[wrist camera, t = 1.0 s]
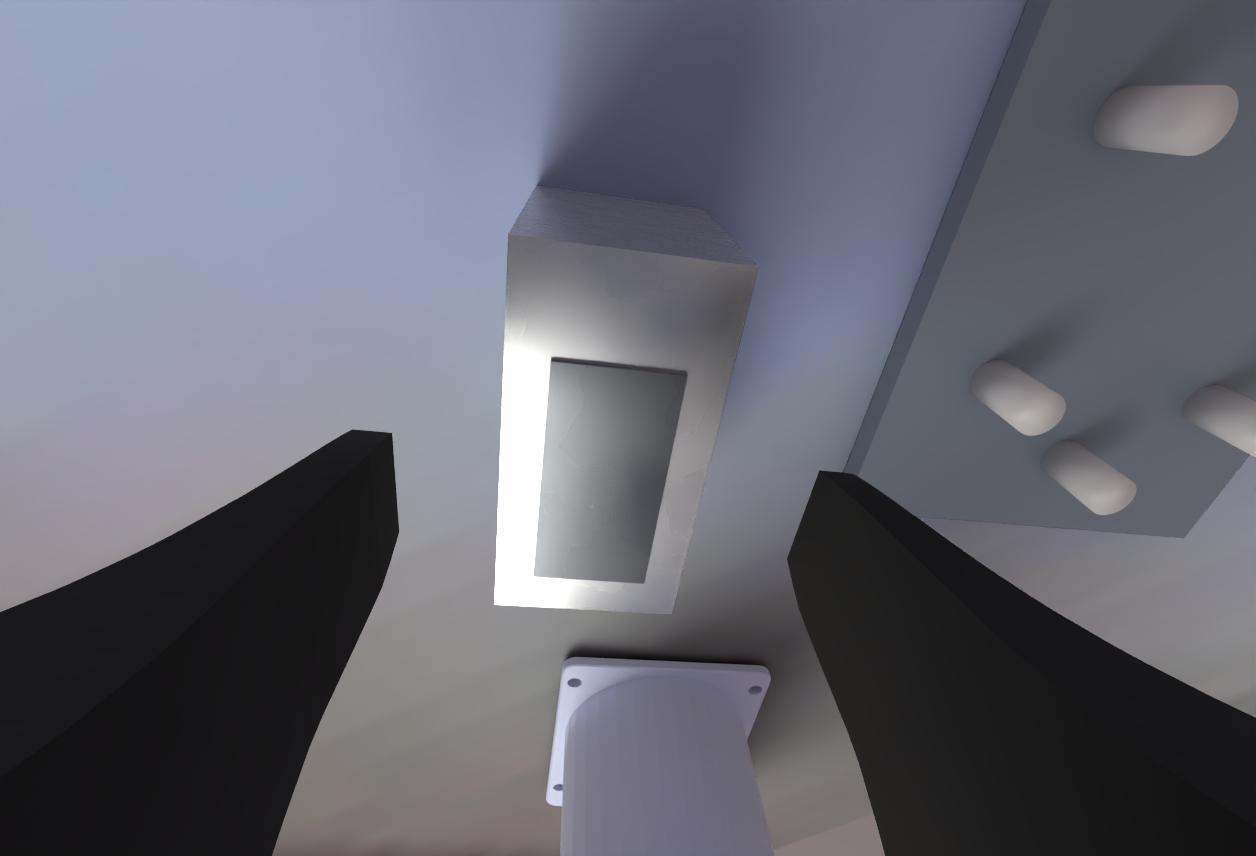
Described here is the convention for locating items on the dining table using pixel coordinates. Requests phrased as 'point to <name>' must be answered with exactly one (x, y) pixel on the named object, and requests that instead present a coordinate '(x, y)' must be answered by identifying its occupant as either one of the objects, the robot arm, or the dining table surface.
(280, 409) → the dining table surface
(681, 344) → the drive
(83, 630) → the robot arm
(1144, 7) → the grey knobbed plate
